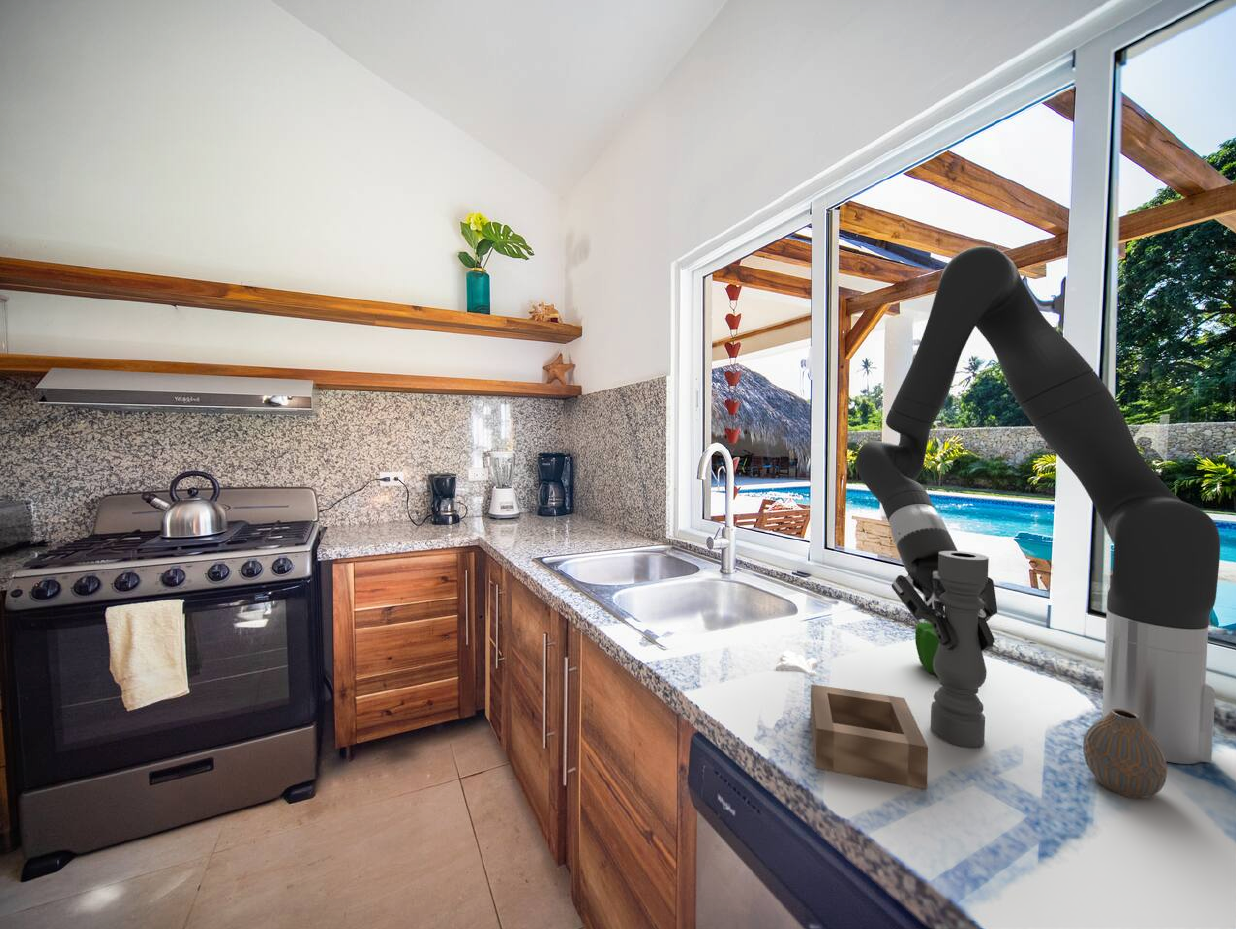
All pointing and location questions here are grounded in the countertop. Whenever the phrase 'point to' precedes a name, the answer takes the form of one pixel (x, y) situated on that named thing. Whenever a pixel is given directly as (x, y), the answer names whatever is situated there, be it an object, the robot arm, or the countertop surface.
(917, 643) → the bell pepper
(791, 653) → the acanthus leaf ornament
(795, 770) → the countertop surface
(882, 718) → the socket block
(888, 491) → the robot arm
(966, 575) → the candle holder
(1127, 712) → the vase
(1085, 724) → the countertop surface
